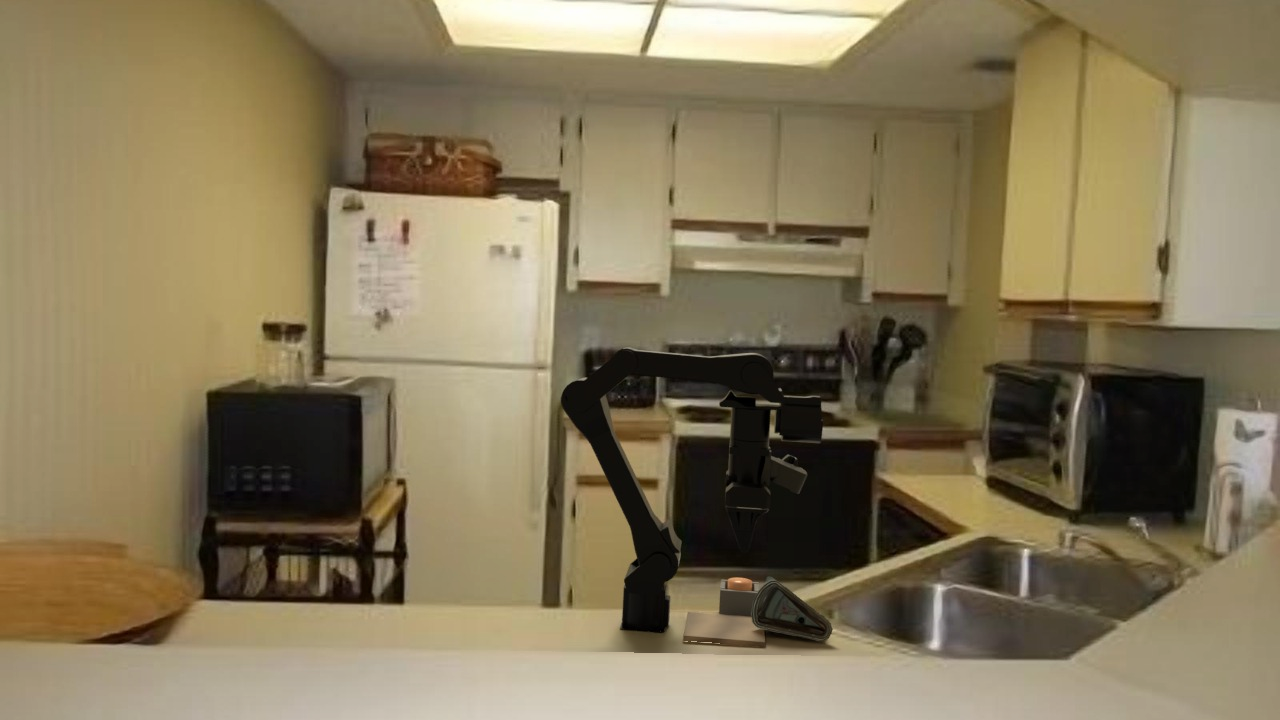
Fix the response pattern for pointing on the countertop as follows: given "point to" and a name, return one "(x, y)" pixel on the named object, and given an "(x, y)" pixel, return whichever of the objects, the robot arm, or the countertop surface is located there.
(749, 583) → the brown egg
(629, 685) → the countertop surface
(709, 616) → the serving board
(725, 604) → the housing
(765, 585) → the chocolate cake
